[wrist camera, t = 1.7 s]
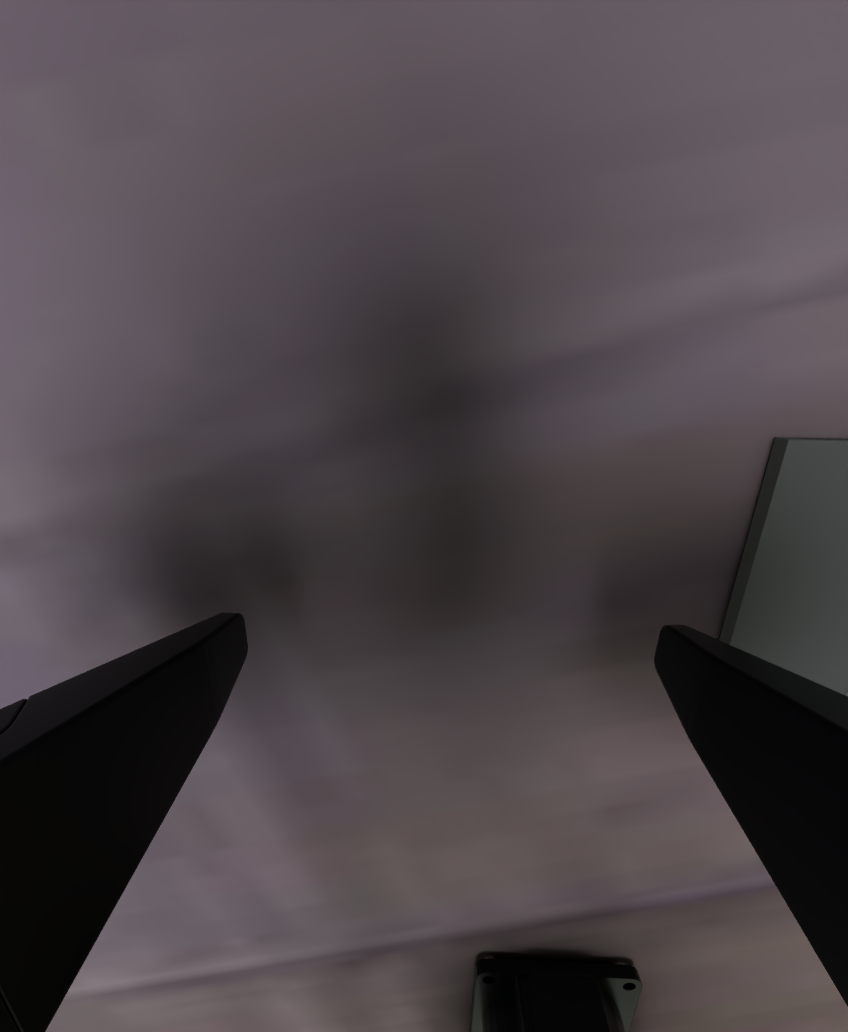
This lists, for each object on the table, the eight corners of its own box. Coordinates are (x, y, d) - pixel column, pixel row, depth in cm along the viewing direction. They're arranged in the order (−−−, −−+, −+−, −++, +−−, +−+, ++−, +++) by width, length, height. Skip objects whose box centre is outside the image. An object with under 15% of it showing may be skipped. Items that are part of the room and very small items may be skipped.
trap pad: (844, 706, 12) (865, 721, 12) (702, 701, 12) (714, 716, 12) (954, 441, 10) (986, 443, 9) (774, 437, 10) (796, 440, 9)
